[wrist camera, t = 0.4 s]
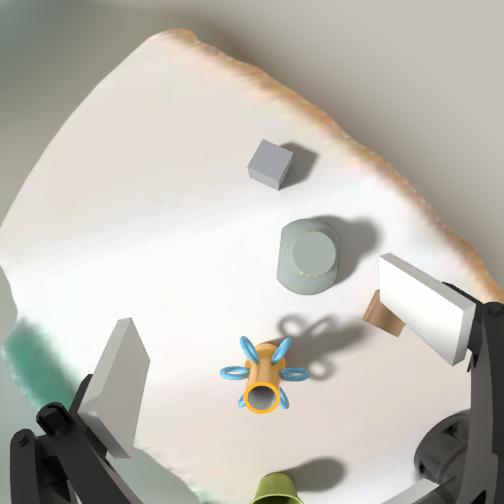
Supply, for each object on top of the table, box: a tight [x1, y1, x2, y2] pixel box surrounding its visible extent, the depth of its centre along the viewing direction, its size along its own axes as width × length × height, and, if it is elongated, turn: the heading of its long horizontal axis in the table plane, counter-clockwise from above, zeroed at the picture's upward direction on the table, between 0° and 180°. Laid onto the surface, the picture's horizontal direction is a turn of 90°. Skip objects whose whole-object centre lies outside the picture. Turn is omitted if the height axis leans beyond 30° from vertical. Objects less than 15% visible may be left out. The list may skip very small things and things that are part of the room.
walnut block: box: [362, 291, 405, 337], centre depth 42 cm, size 5×5×5 cm
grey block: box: [247, 139, 293, 190], centre depth 45 cm, size 5×5×5 cm
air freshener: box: [277, 219, 340, 295], centre depth 41 cm, size 11×8×10 cm
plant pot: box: [250, 473, 304, 504], centre depth 39 cm, size 9×9×9 cm
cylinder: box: [220, 336, 310, 414], centre depth 37 cm, size 12×10×15 cm
